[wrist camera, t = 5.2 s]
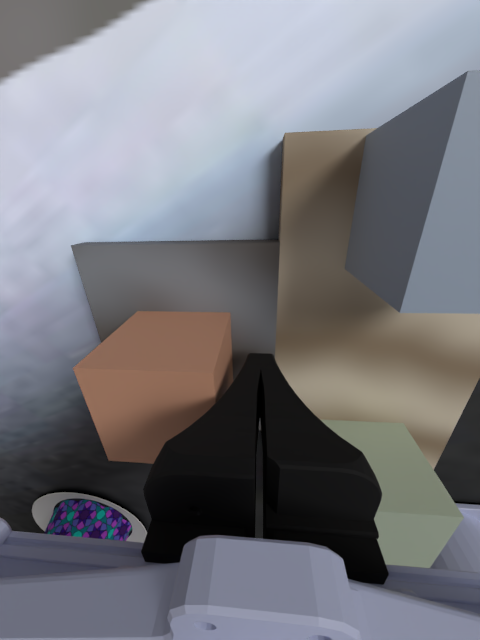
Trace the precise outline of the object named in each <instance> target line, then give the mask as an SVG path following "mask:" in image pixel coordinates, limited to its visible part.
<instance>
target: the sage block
mask: <svg viewBox="0 0 480 640" xmlns="http://www.w3.org/2000/svg"><path fill="white" fill-rule="evenodd" d="M321 421H322V422H323V423H324V424H325V425H326V426H328V427H329V428H330V429H331V430H333V431H334V432H335V433H336V434H337V435H339V436H340V437H341V438H343V439H344V440H346V441H347V442H349V443H350V444H352V445H353V446H354V447H356V448H357V449H359V450H360V451H362V452H363V454H364V456H365V457H366V459H367V461H368V463H369V464H370V466H371V468H372V470H373V472H374V474H375V476H376V478H377V480H378V483H379V485H380V488H381V491H382V498H381V502H380V505H379V507H378V510H377V513H376V515H375V518H374V521H375V524H376V527H377V530H378V532H379V538H378V539H377V541H378V544H379V547H380V550H381V552H382V555H383V558H384V561H385V564H388V565H399V566H410V567H422V568H430V567H431V566H432V564H433V563H434V561H435V560H436V558H437V557H438V555H439V554H440V552H441V551H442V549H443V548H444V546H445V545H446V543H447V542H448V540H449V539H450V537H451V536H452V534H453V533H454V531H455V530H456V529H457V527H458V526H459V524H460V523H461V521H462V520H463V518H464V517H463V515H462V514H461V512H460V510H459V509H458V507H457V506H456V504H455V503H454V501H453V500H452V498H451V496H450V495H449V493H448V492H447V490H446V489H445V487H444V486H443V484H442V482H441V481H440V479H439V478H438V476H437V475H436V473H435V472H434V470H433V468H432V467H431V465H430V464H429V462H428V461H427V459H426V457H425V456H424V454H423V453H422V451H421V450H420V448H419V447H418V445H417V443H416V442H415V440H414V439H413V437H412V436H411V434H410V433H409V431H408V429H407V428H406V426H405V425H404V423H389V422H366V421H343V420H321Z"/></svg>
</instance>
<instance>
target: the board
mask: <svg viewBox="0 0 480 640" xmlns="http://www.w3.org/2000/svg"><path fill="white" fill-rule="evenodd" d="M376 129H377V128H373V129H353V130H334V131H314V132H294V133H285V134H284V137H283V146H282V171H281V195H280V219H279V240H214V241H148V242H84V243H80V244H76V245H71V247H72V251H73V254H74V257H75V260H76V263H77V266H78V270H79V273H80V276H81V279H82V282H83V286H84V289H85V292H86V295H87V298H88V301H89V305H90V308H91V311H92V314H93V317H94V321H95V324H96V327H97V330H98V333H99V336H100V340H101V343H102V342H103V341H104V340H105V339H106V338H108V337H109V336H110V335H111V334H112V333H113V332H114V331H116V330H117V329H118V328H119V327H120V326H121V325H122V324H124V323H125V322H126V321H127V320H128V319H129V318H130V317H131V316H133V315H134V314H135V313H136V312H137V311H165V312H230V314H231V339H232V364H233V381H234V380H235V378H236V377H237V375H238V374H239V372H240V370H241V369H242V367H243V365H244V363H245V361H246V358H247V356H248V354H249V353H271V354H273V355H274V358H275V360H276V363H277V365H278V367H279V369H280V370H281V372H282V374H283V375H284V377H285V379H286V380H287V382H288V383H289V385H290V386H291V388H292V389H293V390H294V392H295V393H296V394H297V396H298V397H299V398H300V399H301V400H302V402H303V403H304V404H305V405H306V406H307V407H308V408H309V409H310V410H311V411H312V413H313V414H314V415H316V416H317V417H318V418H319V419H320V420H343V421H366V422H389V423H404V425H405V426H406V428H407V429H408V431H409V433H410V434H411V436H412V437H413V439H414V440H415V442H416V443H417V445H418V447H419V448H420V450H421V451H422V453H423V454H424V456H425V457H426V459H427V461H428V462H429V464H430V465H431V467H432V468H433V470H434V468H435V466H436V464H437V462H438V460H439V458H440V456H441V454H442V452H443V450H444V448H445V446H446V444H447V442H448V440H449V438H450V436H451V434H452V432H453V430H454V428H455V426H456V424H457V422H458V420H459V418H460V416H461V414H462V412H463V410H464V408H465V406H466V404H467V402H468V400H469V398H470V396H471V394H472V392H473V390H474V388H475V386H476V384H477V382H478V380H479V378H480V314H463V313H399V312H398V311H397V310H395V309H394V308H393V307H392V306H390V305H389V304H388V303H387V302H385V301H384V300H383V299H382V298H380V297H379V296H378V295H377V294H375V293H374V292H373V291H372V290H370V289H369V288H368V287H367V286H366V285H364V284H363V283H362V282H361V281H359V280H358V279H357V278H356V277H354V276H353V275H352V274H351V273H349V272H348V271H347V270H346V269H345V263H346V257H347V251H348V244H349V238H350V232H351V226H352V220H353V214H354V207H355V201H356V195H357V189H358V183H359V176H360V170H361V164H362V158H363V152H364V145H365V139H366V135H368V134H369V133H371V132H372V131H374V130H376ZM259 430H261V422H260V421H259Z"/></svg>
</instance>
